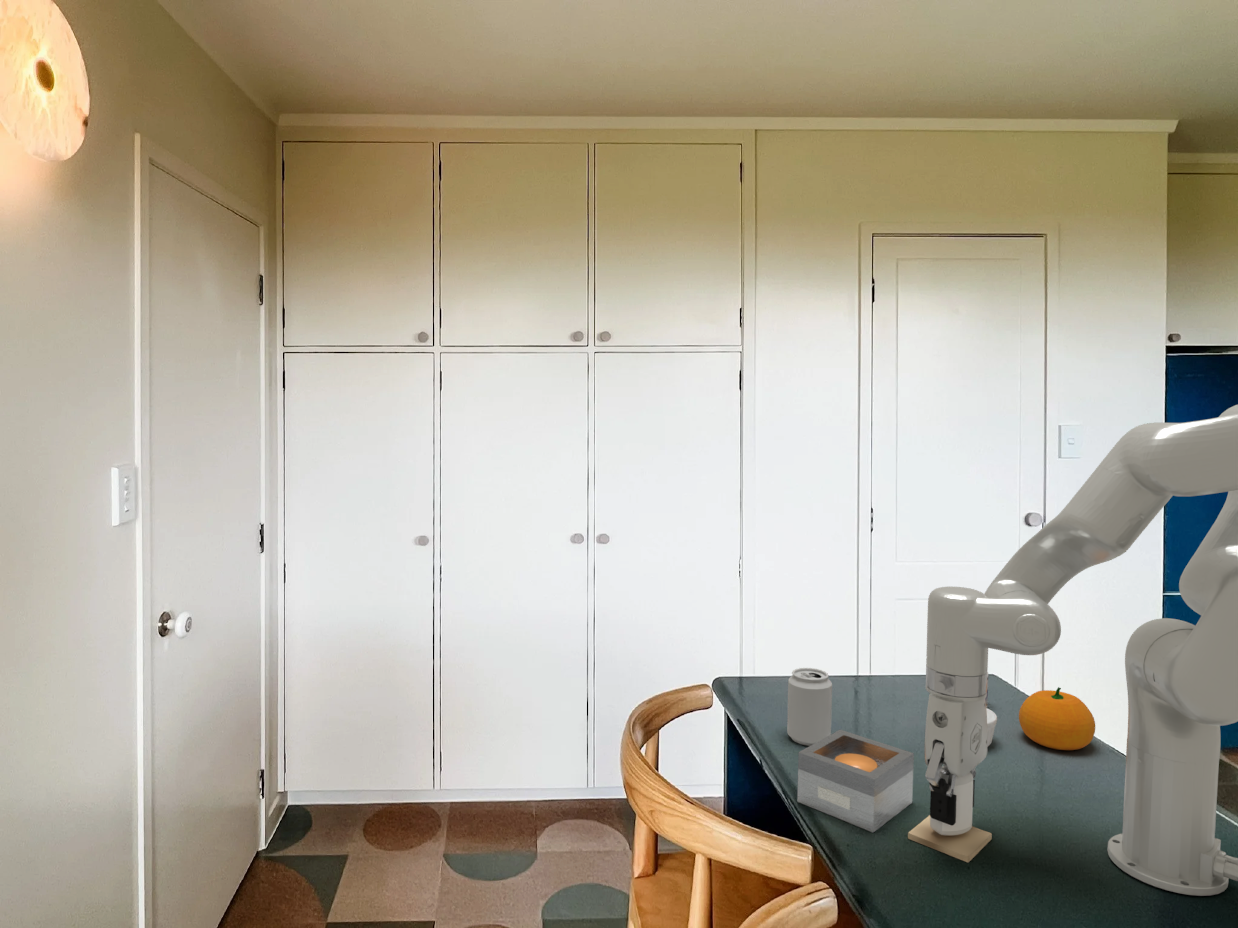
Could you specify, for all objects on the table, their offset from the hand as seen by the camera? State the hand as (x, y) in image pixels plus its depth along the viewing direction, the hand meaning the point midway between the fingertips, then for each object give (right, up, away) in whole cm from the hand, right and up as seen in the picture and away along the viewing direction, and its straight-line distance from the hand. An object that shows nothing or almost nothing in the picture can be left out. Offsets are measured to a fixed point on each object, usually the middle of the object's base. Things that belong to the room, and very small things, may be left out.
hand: (952, 811), depth 106 cm
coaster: (0, -4, 0) cm, 4 cm away
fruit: (+32, -2, +32) cm, 45 cm away
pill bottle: (+25, -1, +49) cm, 55 cm away
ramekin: (+15, -2, +33) cm, 36 cm away
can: (-11, -2, +33) cm, 35 cm away
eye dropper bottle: (0, -3, 0) cm, 3 cm away
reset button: (-10, -3, +10) cm, 15 cm away
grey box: (-10, -3, +10) cm, 15 cm away
